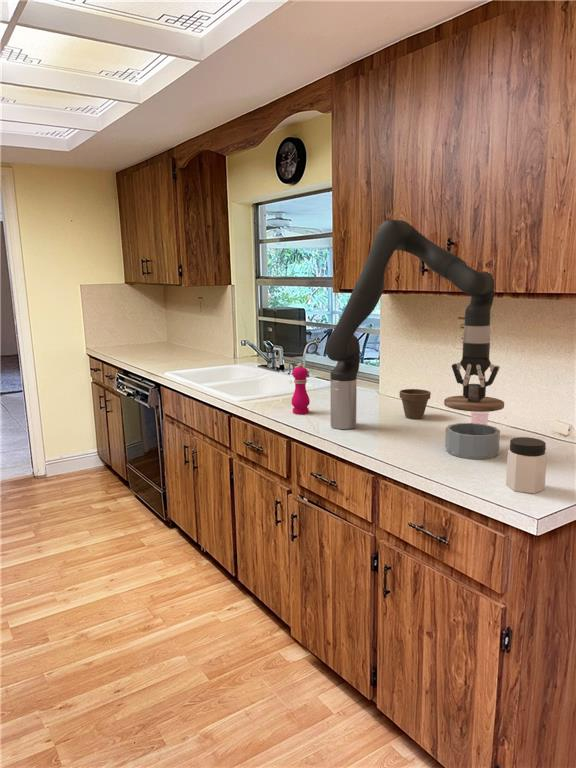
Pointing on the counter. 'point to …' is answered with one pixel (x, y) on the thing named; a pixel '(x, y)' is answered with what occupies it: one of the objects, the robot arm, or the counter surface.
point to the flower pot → (414, 402)
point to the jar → (526, 465)
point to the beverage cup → (479, 417)
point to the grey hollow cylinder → (472, 440)
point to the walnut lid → (474, 401)
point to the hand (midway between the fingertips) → (473, 398)
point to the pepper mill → (300, 391)
